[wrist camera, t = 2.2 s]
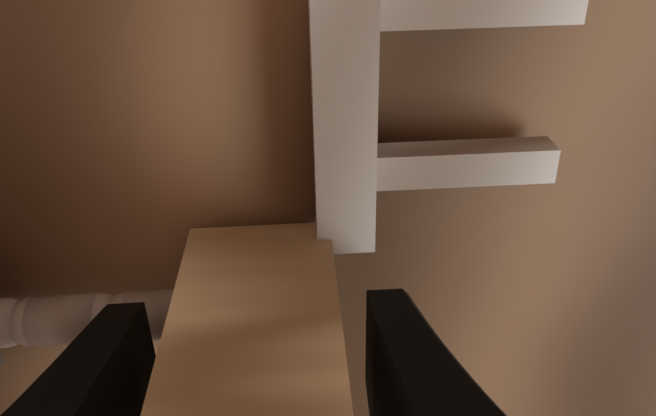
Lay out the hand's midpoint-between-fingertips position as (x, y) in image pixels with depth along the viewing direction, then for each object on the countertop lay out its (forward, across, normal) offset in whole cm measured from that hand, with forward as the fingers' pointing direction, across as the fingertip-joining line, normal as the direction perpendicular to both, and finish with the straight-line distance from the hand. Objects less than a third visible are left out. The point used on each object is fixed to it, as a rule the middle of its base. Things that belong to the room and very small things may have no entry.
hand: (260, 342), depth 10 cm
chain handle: (+1, +4, -2) cm, 5 cm away
